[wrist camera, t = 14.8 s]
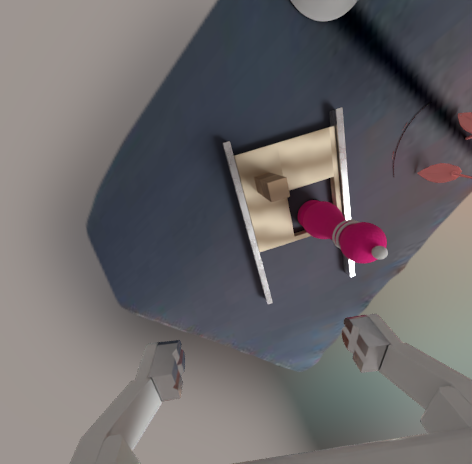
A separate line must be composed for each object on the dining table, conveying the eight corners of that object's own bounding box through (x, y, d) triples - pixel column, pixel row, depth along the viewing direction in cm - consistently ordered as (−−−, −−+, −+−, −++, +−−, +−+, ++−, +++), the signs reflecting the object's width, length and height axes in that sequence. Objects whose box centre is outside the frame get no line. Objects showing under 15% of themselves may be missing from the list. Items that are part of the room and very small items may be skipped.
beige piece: (233, 156, 39) (243, 156, 30) (329, 126, 40) (370, 118, 30) (258, 249, 47) (272, 274, 37) (339, 223, 48) (374, 241, 38)
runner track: (221, 143, 38) (223, 143, 36) (335, 109, 39) (342, 107, 37) (265, 298, 52) (267, 304, 50) (349, 270, 53) (355, 275, 51)
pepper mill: (292, 229, 46) (351, 280, 28) (298, 196, 44) (367, 227, 26) (322, 230, 48) (399, 279, 29) (330, 198, 45) (419, 229, 27)
